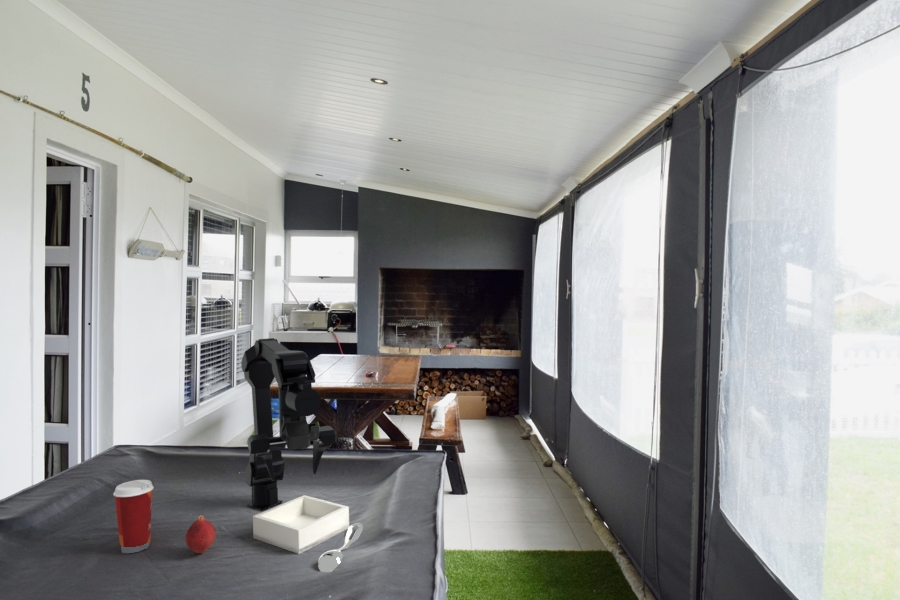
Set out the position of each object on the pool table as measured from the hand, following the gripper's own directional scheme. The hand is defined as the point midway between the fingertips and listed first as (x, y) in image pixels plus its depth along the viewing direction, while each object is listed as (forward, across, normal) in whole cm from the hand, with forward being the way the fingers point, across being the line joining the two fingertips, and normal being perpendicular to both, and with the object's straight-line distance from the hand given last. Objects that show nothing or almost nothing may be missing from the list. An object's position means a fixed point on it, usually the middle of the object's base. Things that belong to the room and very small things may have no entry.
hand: (294, 477), depth 126 cm
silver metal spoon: (+14, +8, -12) cm, 20 cm away
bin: (+13, +2, +1) cm, 14 cm away
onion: (+14, -19, +1) cm, 24 cm away
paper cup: (+14, -32, +11) cm, 37 cm away
